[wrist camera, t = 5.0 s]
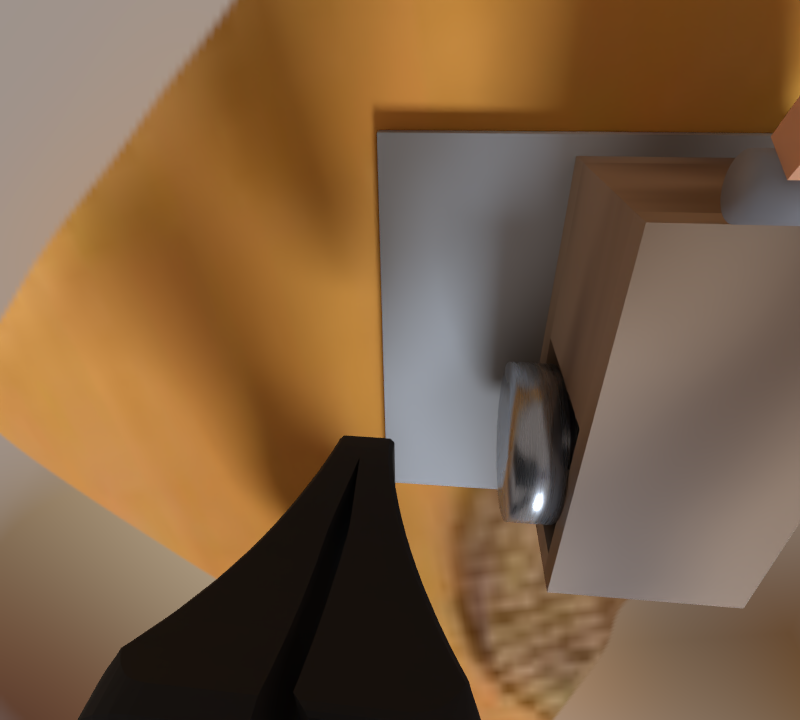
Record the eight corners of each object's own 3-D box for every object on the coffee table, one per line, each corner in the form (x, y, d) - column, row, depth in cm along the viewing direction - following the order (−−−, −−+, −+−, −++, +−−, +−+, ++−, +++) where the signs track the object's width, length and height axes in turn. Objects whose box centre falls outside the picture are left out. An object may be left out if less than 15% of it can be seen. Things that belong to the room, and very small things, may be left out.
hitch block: (876, 134, 12) (1170, 199, 7) (704, 495, 19) (792, 655, 14) (378, 130, 13) (332, 184, 8) (388, 474, 20) (366, 617, 15)
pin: (861, 347, 14) (1009, 459, 10) (793, 462, 16) (894, 587, 12) (508, 332, 15) (525, 432, 11) (493, 444, 17) (504, 556, 13)
